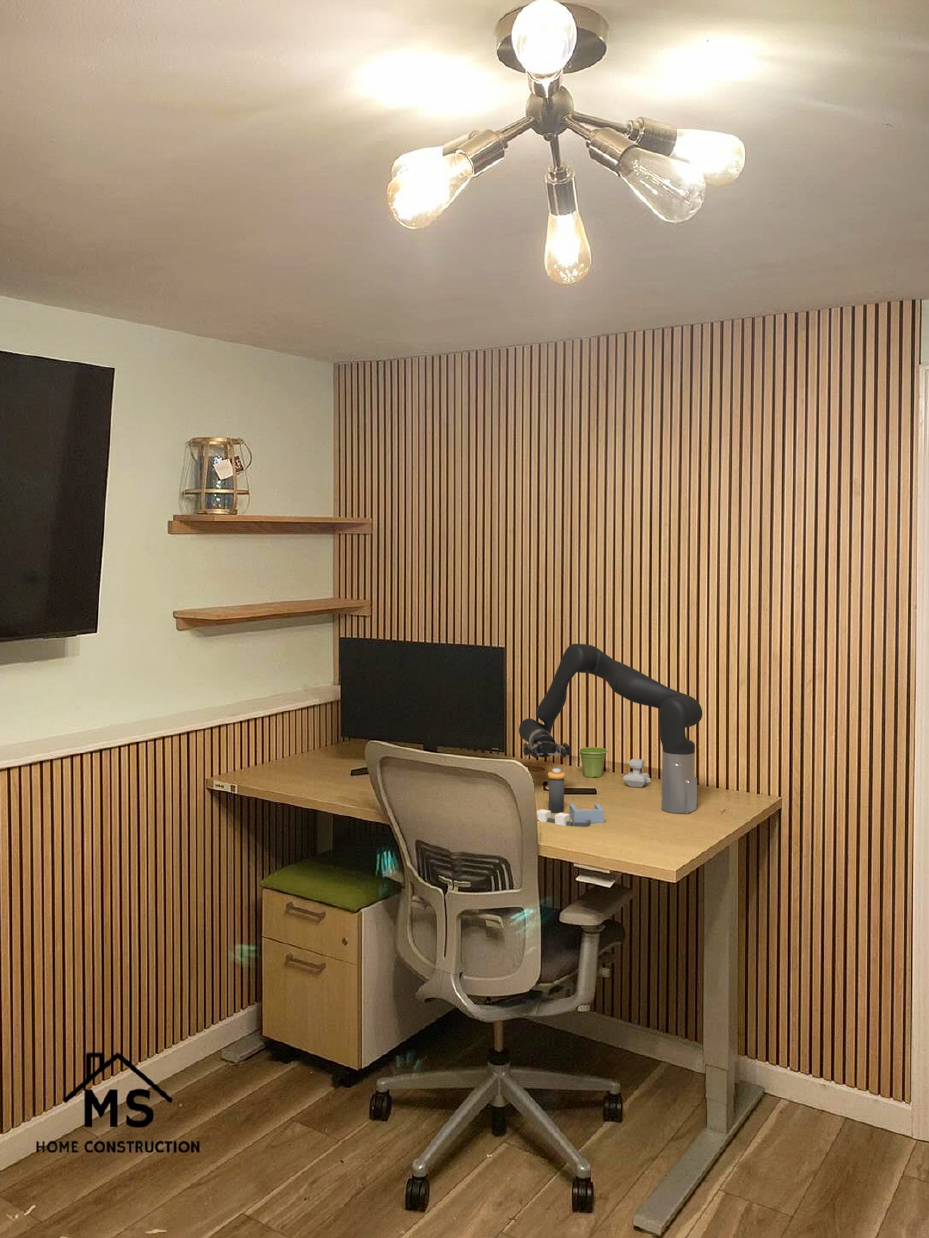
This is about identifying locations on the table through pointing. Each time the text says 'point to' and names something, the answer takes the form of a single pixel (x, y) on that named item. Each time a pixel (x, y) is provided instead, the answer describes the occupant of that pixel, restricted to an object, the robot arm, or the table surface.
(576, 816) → the end holder
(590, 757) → the plant pot
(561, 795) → the grey and orange bottle
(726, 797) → the table surface
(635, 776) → the stamp
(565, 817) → the routed cable
